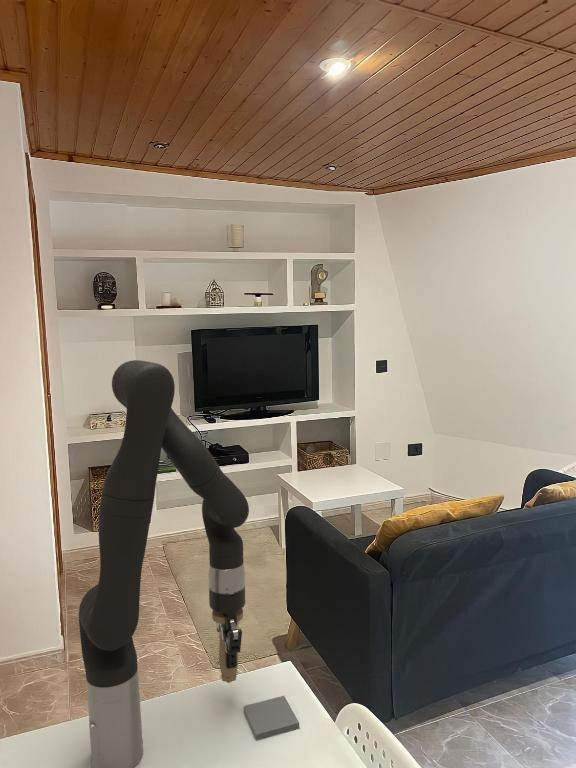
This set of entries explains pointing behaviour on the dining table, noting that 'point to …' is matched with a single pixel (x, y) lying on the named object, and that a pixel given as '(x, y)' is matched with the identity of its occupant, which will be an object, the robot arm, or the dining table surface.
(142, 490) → the robot arm
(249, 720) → the plate
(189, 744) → the dining table surface
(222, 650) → the handle
